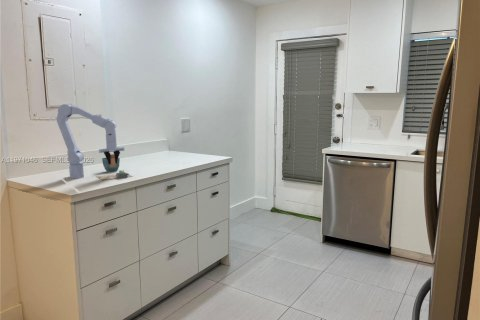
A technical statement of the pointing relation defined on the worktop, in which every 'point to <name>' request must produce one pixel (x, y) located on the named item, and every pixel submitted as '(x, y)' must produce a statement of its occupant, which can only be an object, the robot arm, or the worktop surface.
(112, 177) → the clipboard
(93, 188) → the worktop surface
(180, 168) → the worktop surface
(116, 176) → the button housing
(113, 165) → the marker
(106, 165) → the flower pot
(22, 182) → the worktop surface
